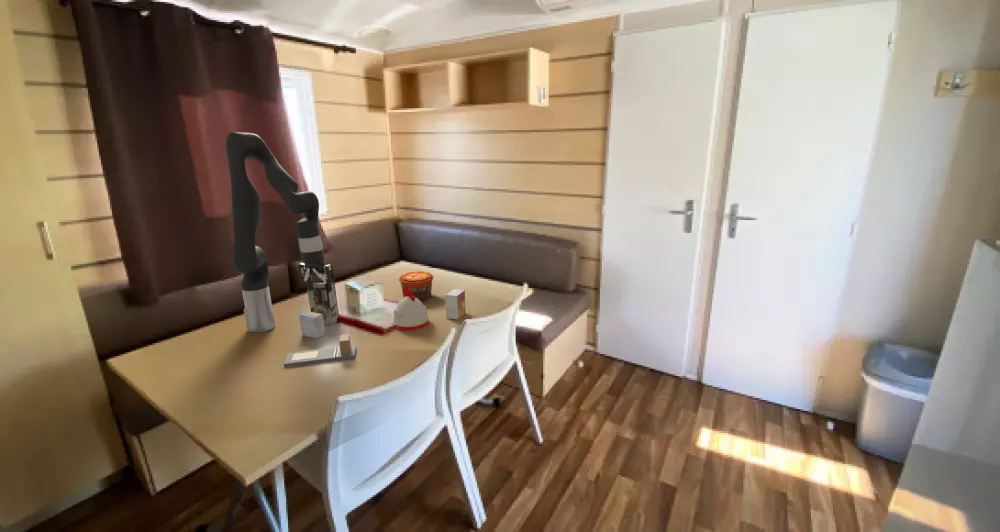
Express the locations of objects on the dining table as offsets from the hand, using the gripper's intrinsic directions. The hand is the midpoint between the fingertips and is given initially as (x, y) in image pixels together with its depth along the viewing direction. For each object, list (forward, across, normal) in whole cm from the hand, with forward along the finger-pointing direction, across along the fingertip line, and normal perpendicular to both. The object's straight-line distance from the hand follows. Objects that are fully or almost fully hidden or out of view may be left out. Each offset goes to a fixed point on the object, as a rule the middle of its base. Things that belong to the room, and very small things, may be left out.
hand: (319, 291), depth 161 cm
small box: (+22, +35, +37) cm, 55 cm away
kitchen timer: (+21, +22, +23) cm, 38 cm away
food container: (+22, +7, +51) cm, 56 cm away
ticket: (+19, +6, -15) cm, 25 cm away
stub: (+19, +15, -8) cm, 26 cm away
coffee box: (+19, -13, +12) cm, 26 cm away
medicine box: (+19, -8, 0) cm, 20 cm away
